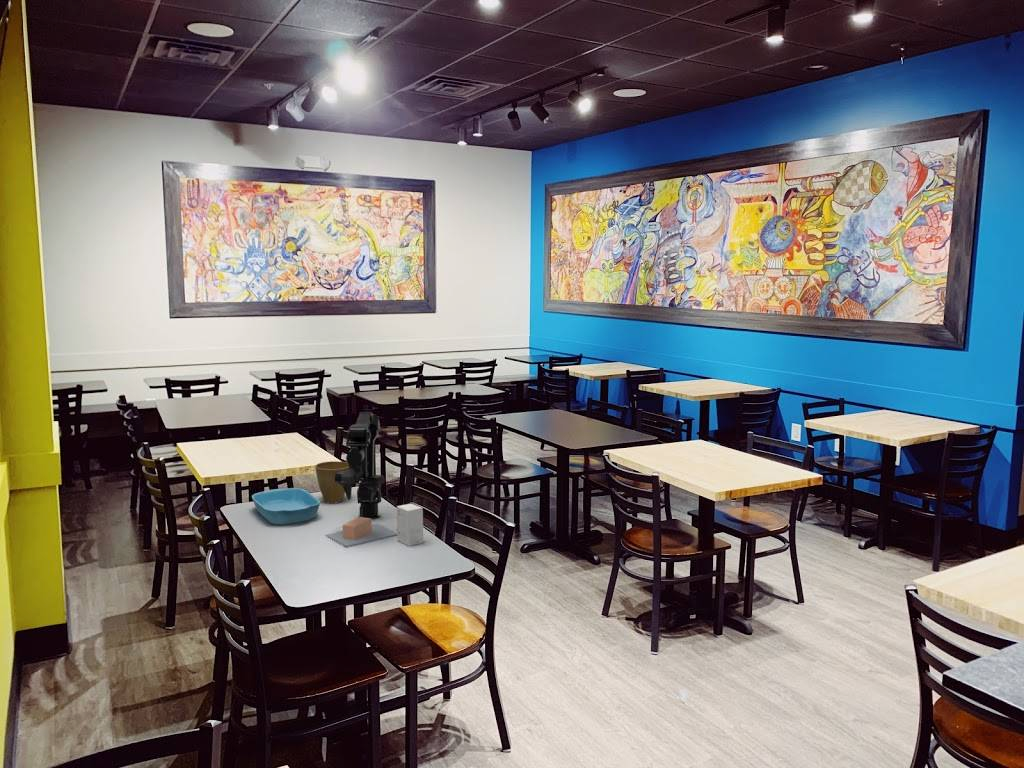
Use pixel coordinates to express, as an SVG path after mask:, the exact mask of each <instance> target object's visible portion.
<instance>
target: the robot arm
mask: <svg viewBox="0 0 1024 768" xmlns="http://www.w3.org/2000/svg"><path fill="white" fill-rule="evenodd" d="M380 428H381V423H380V419H379V417H377V416H375V415H374V414H373V412H372V411H361V412H359V414H358V417H357V421H356V423H355V424H352V425H350V426H349V429H347V434H346V442H345V447H347V448H349V447H350V448H349V449H350V450H349V451H348V453H347V454H346V456H345V458H346V459H345V460H346V461H345V462H347V463H348V464H349V468H348V470H346V471H341V472H339V473H336V474H335V476H334V481H336V482H337V483H338V484H340V485H341V486H342V487H343V488H344V491H345V495H346V497H347V500H348V501H350V500H351V498H352V490H353V489H352V488H353V485H354V484H356V482H359V483H358V488H357V490H356V498H357V504H360V505H359V515H358V518H359V517H364V518H371V520H373V519H377V518H381V515H379V504H380V503H382V492H381V491H380V488H379V487H380V486H382V485H383V484H386V479H385V476H384V475H383V474H382V475H381V474H375V441H376V439H377V437H378V435H379V431H380Z"/></svg>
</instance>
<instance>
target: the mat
mask: <svg viewBox="0 0 1024 768" xmlns="http://www.w3.org/2000/svg"><path fill="white" fill-rule="evenodd" d="M371 527H372V532H370V533H368V534H366V535H364V536H362V537H360V538H358V539H356V540H351V539H344V538H343V530H342V531H336V532H332V533H329V534H325V536H327V537H328V538H327V537H326V538H327V539H329V538H330V540H331V539H332V540H331V541H333V540H334V541H333V542H335V541H336V542H335V543H337V542H338V543H337V544H339V543H340V544H339V545H341V544H342V545H344V546H346V547H347V548H349V547H348V546H351V547H354V546H353V545H355V546H359V545H362V544H368V543H371V541H372V542H375V541H380V540H383V539H384V538H385V539H388V538H392V537H397V536H396V535H397V531H395V530H393V529H390V528H388V527H387V526H383V524H382V525H381V524H379V523H374V524H372V523H371ZM325 536H324V537H325ZM367 542H368V543H367ZM358 544H359V545H358ZM342 545H341V546H342ZM344 546H343V547H344ZM346 547H345V548H346Z"/></svg>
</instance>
